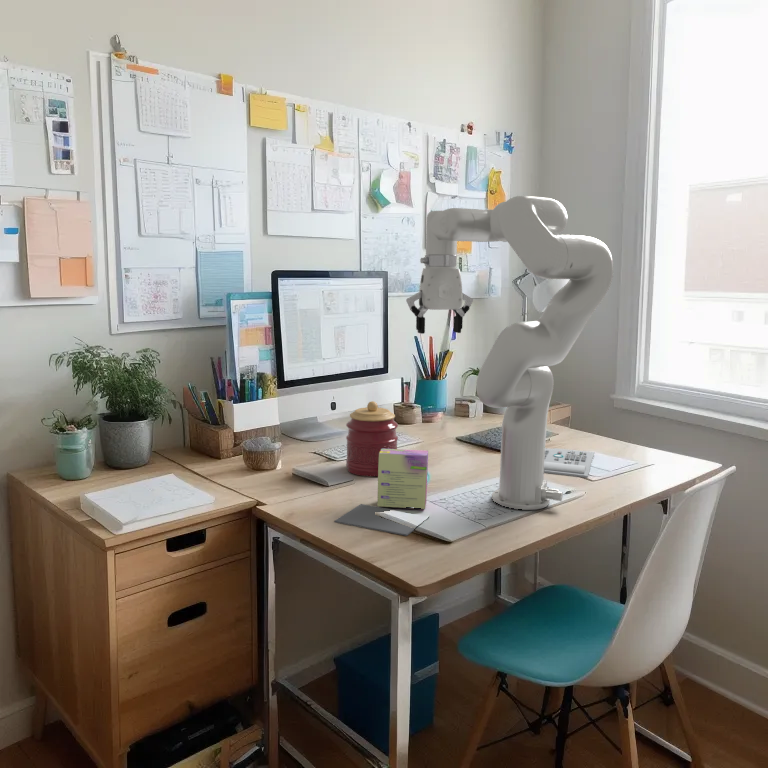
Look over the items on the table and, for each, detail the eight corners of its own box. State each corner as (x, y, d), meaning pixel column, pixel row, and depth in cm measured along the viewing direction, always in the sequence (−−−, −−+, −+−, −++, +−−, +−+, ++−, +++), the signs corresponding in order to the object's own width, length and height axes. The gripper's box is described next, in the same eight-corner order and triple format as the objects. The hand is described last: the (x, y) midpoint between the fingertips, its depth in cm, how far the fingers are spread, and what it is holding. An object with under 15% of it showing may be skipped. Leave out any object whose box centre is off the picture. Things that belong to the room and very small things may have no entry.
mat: (429, 517, 150) (429, 516, 150) (406, 535, 140) (406, 534, 140) (360, 505, 157) (361, 503, 157) (334, 522, 147) (334, 520, 147)
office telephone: (589, 470, 179) (508, 461, 186) (588, 480, 180) (507, 471, 186) (595, 447, 201) (522, 440, 207) (594, 456, 201) (521, 449, 208)
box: (426, 502, 160) (428, 449, 158) (425, 509, 154) (427, 455, 153) (379, 500, 161) (380, 447, 159) (377, 507, 155) (378, 453, 154)
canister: (346, 477, 177) (346, 406, 174) (345, 462, 190) (345, 396, 187) (399, 477, 178) (400, 406, 175) (395, 462, 190) (396, 396, 187)
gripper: (413, 262, 171) (411, 335, 174) (479, 263, 176) (477, 333, 179) (402, 262, 178) (401, 332, 181) (466, 263, 183) (464, 330, 186)
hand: (439, 332), depth 180 cm, fingers open, 9 cm apart
